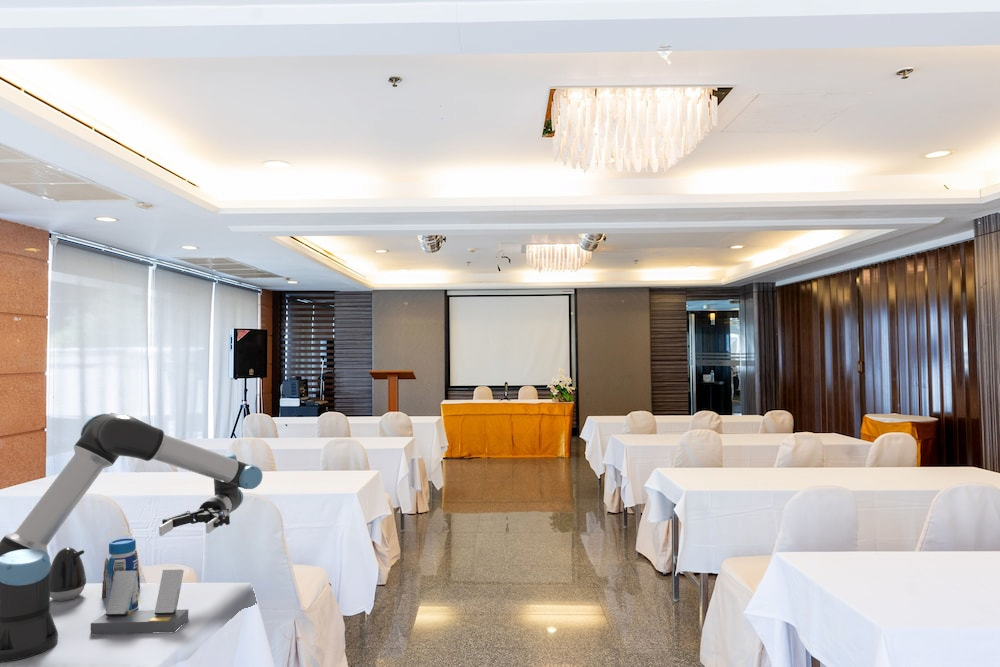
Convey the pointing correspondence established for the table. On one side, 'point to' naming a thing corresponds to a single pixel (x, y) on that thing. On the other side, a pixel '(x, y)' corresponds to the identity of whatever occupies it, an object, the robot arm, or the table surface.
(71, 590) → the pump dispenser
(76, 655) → the table surface
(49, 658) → the table surface
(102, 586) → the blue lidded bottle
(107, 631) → the switch base
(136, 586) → the beverage bottle
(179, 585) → the right lever
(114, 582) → the left lever
